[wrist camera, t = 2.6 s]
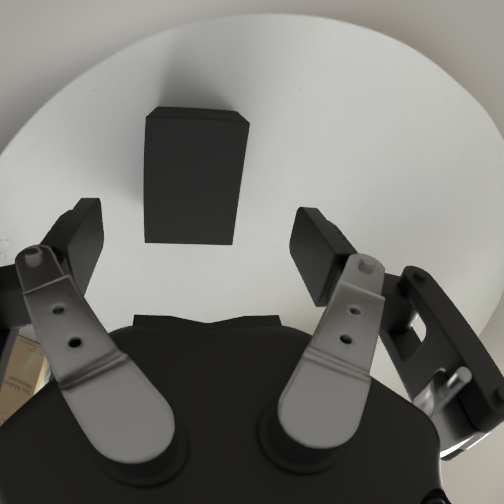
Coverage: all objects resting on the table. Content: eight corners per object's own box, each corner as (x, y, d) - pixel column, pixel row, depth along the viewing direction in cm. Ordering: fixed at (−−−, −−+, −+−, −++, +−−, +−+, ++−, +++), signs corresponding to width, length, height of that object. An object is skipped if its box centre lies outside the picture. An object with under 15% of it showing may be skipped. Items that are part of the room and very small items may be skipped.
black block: (152, 208, 20) (144, 243, 16) (156, 106, 16) (145, 116, 12) (224, 211, 21) (232, 245, 17) (237, 111, 17) (250, 122, 14)
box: (49, 346, 25) (27, 437, 16) (49, 366, 27) (32, 449, 18) (8, 330, 23) (-21, 416, 14) (11, 351, 25) (-12, 431, 16)
